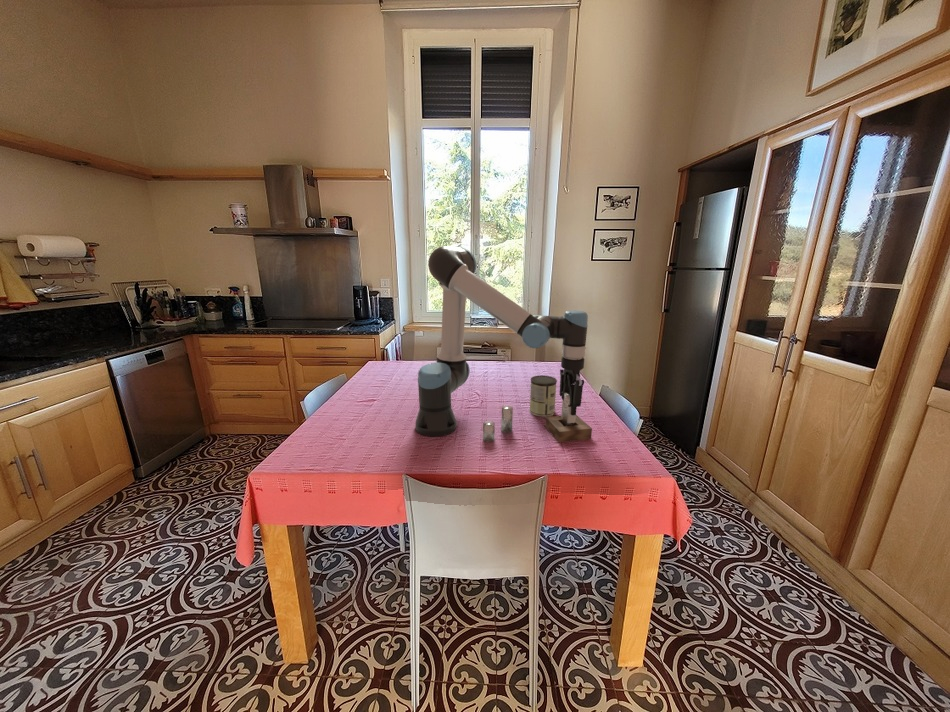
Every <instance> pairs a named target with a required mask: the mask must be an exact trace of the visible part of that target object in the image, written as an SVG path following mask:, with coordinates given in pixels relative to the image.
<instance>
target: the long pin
mask: <svg viewBox="0 0 950 712" xmlns="http://www.w3.org/2000/svg"><path fill="white" fill-rule="evenodd" d="M568 405H570V392H565V393H564V405H563V419H562V425H563V426H564V427H566V426H574V423H567V418H568Z"/></svg>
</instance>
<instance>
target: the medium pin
mask: <svg viewBox="0 0 950 712" xmlns="http://www.w3.org/2000/svg"><path fill="white" fill-rule="evenodd" d="M513 409H514V407H513V406H512V405H502V407H501V419H500V420H501V427H500V429H501V430H500V431H501V432H502V433H504V434H511V433H512V432H513V419H514V418H513V417H514V416H513V415H514V414H513V413H514V412H513V411H514V410H513Z"/></svg>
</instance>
